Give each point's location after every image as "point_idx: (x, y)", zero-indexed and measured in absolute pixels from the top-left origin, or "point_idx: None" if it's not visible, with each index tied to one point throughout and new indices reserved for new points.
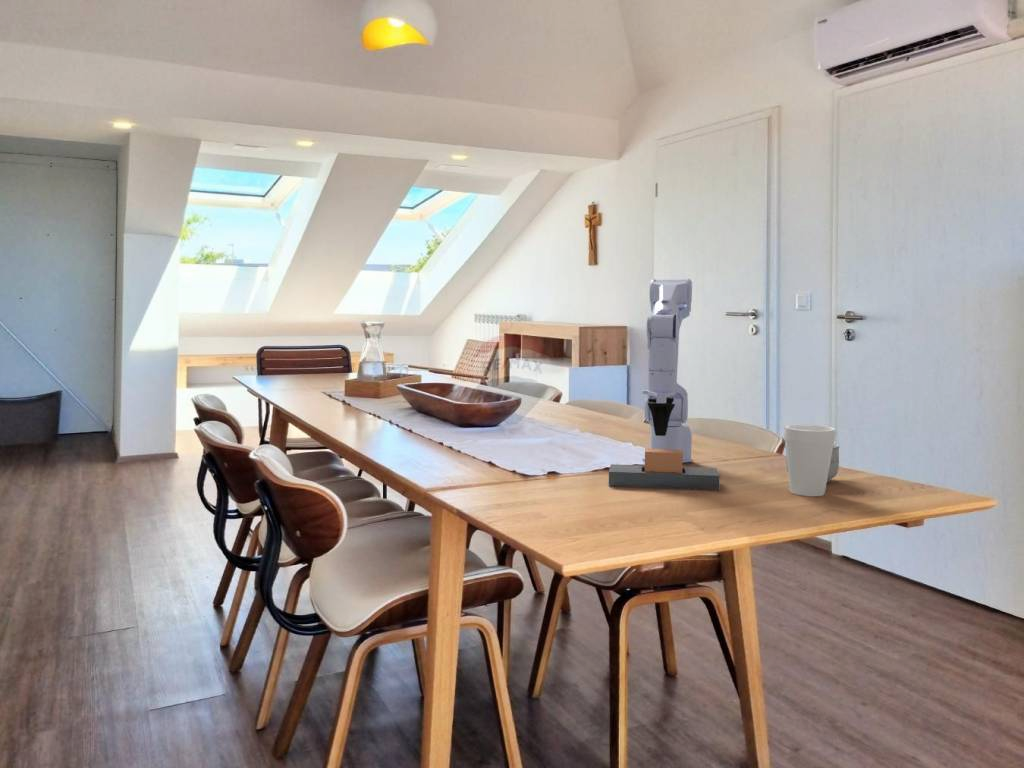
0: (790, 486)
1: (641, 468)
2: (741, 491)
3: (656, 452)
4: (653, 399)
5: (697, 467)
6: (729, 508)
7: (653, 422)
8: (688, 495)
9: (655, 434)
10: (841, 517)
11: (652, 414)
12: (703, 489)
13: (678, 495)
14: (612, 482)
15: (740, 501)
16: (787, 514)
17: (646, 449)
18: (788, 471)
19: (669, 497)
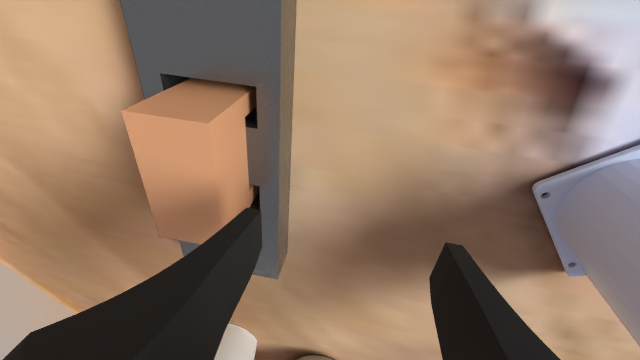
0: (227, 332)
1: (218, 80)
2: None
3: (135, 156)
4: None
5: (277, 245)
6: (62, 215)
7: (193, 250)
8: (131, 169)
9: (244, 210)
10: None
11: (127, 291)
12: None
13: (120, 148)
14: None
15: (126, 244)
16: (76, 274)
17: (184, 126)
18: (219, 357)
19: (88, 123)
